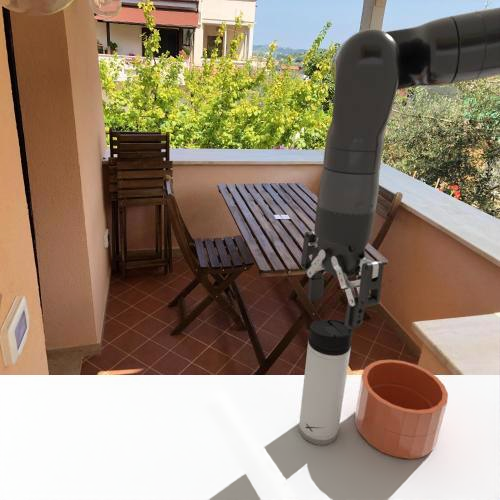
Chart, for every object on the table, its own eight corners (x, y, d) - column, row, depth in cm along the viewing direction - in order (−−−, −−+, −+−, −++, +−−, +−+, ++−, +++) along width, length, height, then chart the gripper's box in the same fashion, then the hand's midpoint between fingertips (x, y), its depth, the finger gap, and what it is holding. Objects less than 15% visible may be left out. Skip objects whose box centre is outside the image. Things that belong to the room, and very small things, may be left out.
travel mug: (308, 450, 65) (322, 339, 58) (293, 420, 71) (303, 315, 64) (345, 443, 67) (363, 334, 60) (327, 414, 73) (341, 311, 66)
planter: (394, 393, 79) (402, 352, 75) (453, 443, 68) (466, 397, 65) (339, 414, 73) (345, 371, 70) (394, 472, 62) (405, 424, 59)
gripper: (409, 215, 51) (387, 332, 57) (335, 189, 63) (323, 288, 69) (361, 222, 48) (343, 345, 54) (292, 193, 60) (283, 296, 65)
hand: (332, 312), depth 61 cm, fingers open, 8 cm apart
